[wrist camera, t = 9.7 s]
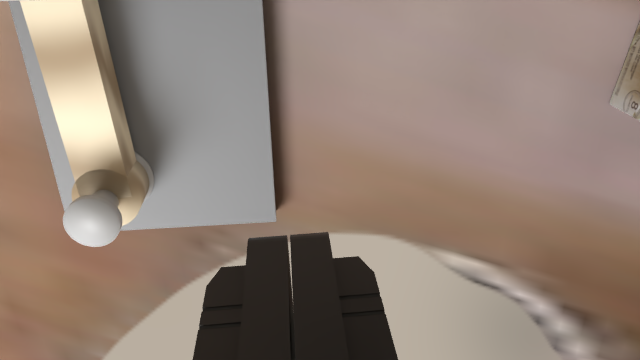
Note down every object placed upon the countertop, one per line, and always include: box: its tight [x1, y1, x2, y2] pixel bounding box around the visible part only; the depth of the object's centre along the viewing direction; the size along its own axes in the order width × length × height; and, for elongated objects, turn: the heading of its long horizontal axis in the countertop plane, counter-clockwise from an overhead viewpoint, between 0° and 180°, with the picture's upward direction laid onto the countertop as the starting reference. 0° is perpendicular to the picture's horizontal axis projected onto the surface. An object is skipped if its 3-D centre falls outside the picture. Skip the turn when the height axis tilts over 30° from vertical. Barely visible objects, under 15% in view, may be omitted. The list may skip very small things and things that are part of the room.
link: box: [20, 0, 149, 226], centre depth 30 cm, size 18×4×2 cm, turn 4°
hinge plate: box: [8, 0, 276, 247], centre depth 29 cm, size 24×14×7 cm, turn 1°
